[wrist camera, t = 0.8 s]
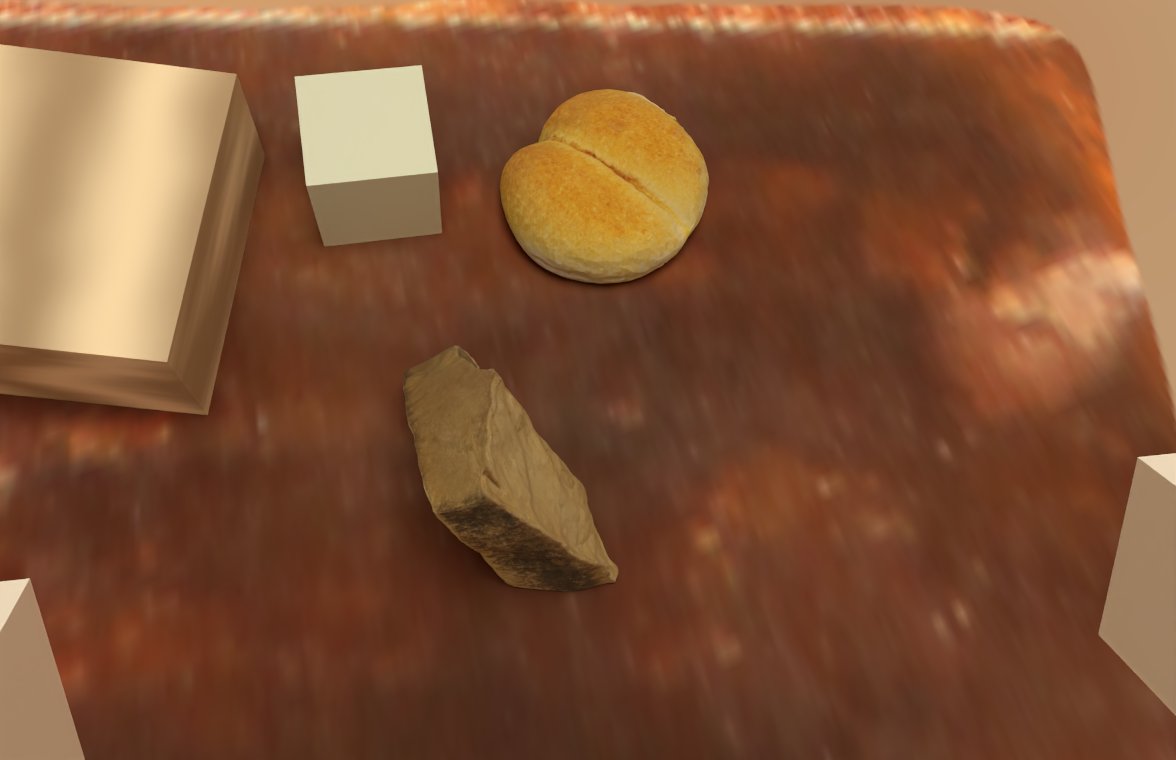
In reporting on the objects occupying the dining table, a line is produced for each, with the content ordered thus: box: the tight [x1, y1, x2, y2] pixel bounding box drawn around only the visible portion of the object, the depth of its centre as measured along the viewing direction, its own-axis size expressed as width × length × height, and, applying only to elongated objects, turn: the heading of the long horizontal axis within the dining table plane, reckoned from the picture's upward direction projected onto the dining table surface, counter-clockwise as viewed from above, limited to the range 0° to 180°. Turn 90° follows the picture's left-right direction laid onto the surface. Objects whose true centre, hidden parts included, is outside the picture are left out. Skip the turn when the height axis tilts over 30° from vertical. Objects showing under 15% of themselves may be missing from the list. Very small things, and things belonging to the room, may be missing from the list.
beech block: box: [0, 45, 265, 415], centre depth 40 cm, size 12×12×6 cm
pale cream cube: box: [295, 65, 442, 247], centre depth 43 cm, size 5×5×5 cm
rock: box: [403, 345, 618, 591], centre depth 39 cm, size 11×9×10 cm
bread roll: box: [500, 89, 709, 284], centre depth 45 cm, size 8×9×4 cm
